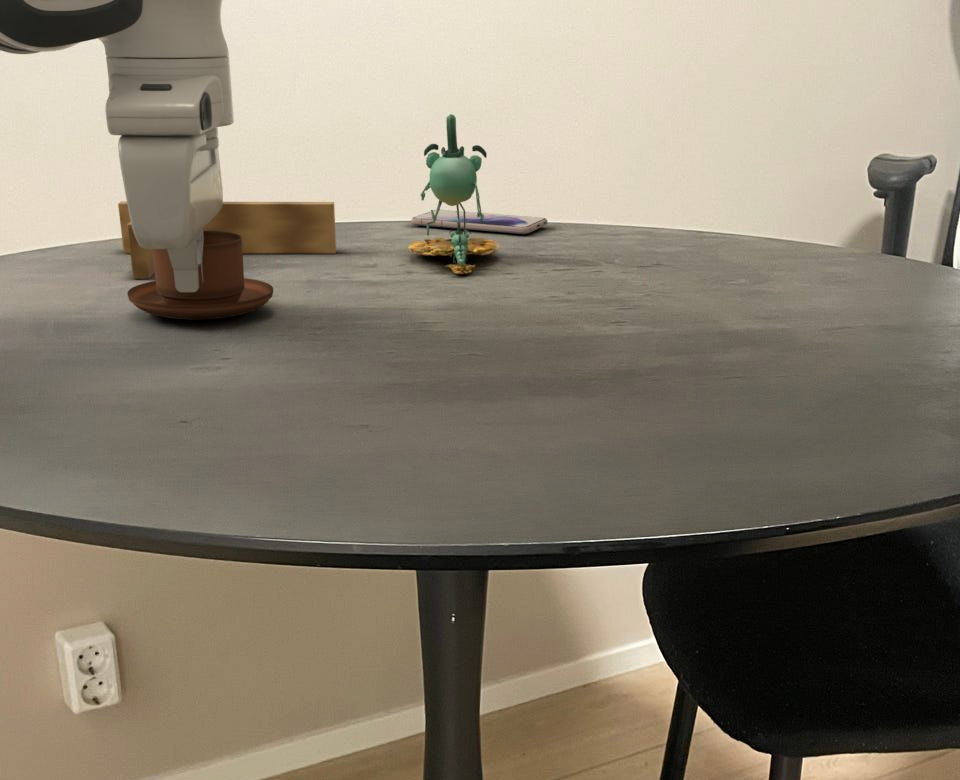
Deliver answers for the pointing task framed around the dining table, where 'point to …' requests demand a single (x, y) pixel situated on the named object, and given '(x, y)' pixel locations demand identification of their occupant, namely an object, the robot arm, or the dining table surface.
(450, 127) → the green cartoon figurine
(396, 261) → the dining table surface
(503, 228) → the smartphone
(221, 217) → the corner stop
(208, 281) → the cup and saucer
